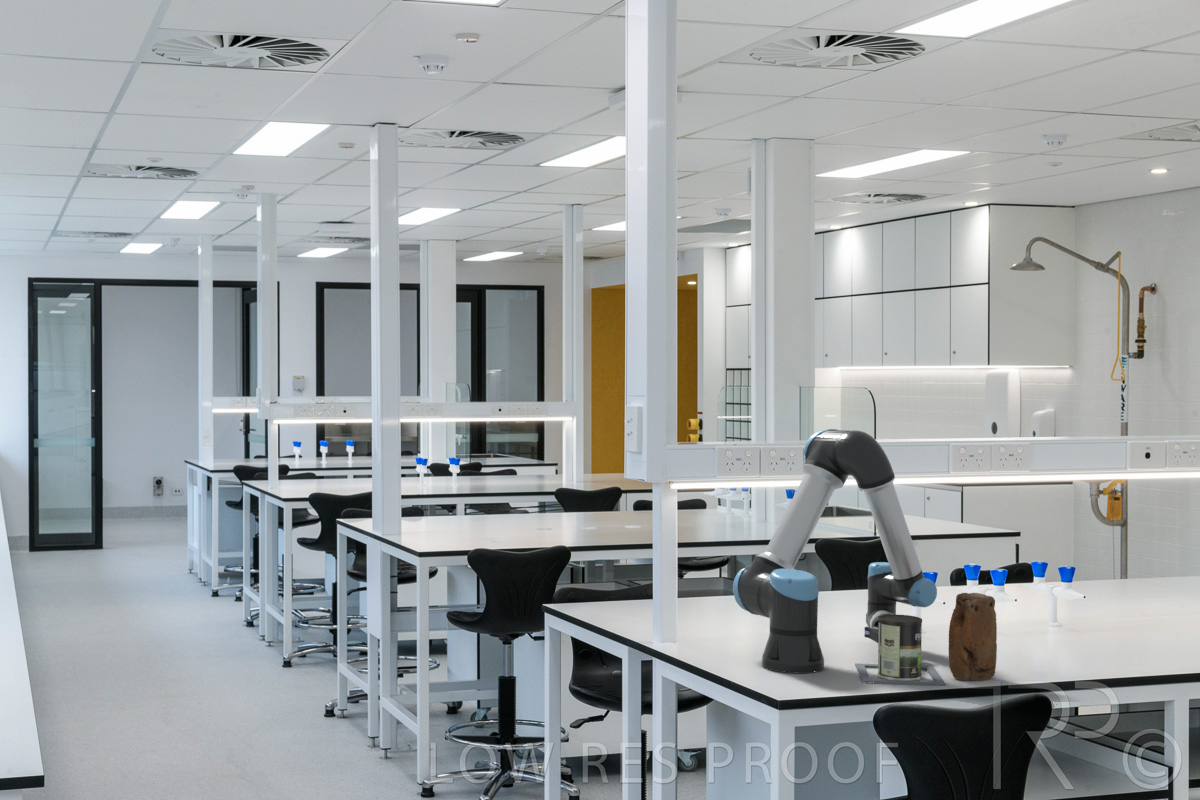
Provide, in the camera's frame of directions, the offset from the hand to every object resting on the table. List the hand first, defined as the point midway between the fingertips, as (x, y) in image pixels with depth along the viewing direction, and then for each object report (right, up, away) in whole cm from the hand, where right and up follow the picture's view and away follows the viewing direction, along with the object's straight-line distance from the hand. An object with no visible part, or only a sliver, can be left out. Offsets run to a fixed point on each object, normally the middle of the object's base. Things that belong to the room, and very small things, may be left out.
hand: (897, 645), depth 295 cm
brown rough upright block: (+16, -7, -6) cm, 19 cm away
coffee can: (-1, -7, -5) cm, 8 cm away
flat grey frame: (-1, -6, -4) cm, 7 cm away
